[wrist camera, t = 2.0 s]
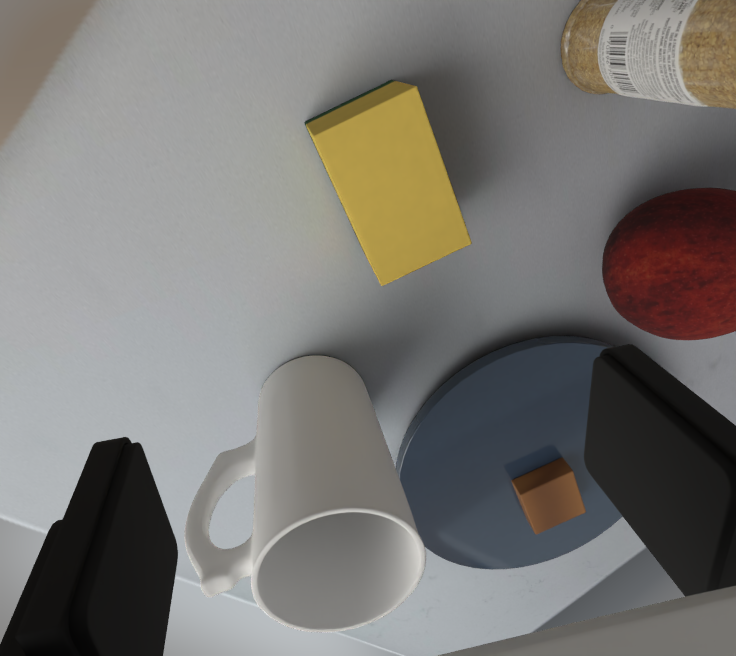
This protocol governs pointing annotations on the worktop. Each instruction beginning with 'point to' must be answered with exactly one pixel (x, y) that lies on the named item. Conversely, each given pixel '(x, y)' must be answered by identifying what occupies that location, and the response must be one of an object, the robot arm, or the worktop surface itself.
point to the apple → (676, 264)
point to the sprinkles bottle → (654, 50)
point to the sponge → (390, 179)
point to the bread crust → (549, 495)
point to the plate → (503, 454)
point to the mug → (313, 506)
